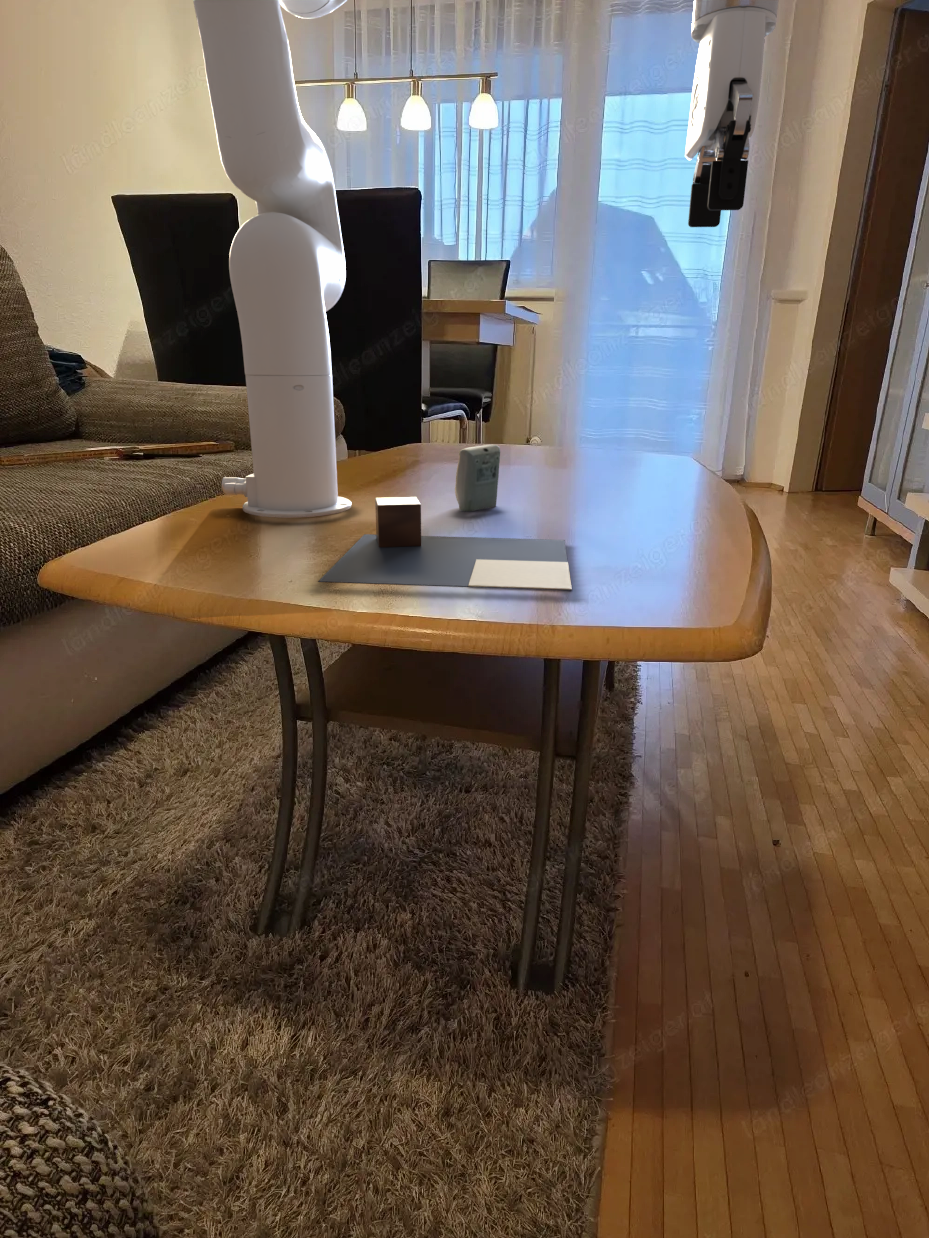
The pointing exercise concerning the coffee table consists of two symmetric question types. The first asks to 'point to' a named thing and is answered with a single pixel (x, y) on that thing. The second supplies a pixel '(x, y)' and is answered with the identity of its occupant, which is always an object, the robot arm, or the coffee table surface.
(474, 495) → the grey charger brick
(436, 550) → the mat
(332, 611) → the coffee table surface
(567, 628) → the coffee table surface
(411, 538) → the walnut block
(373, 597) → the coffee table surface
